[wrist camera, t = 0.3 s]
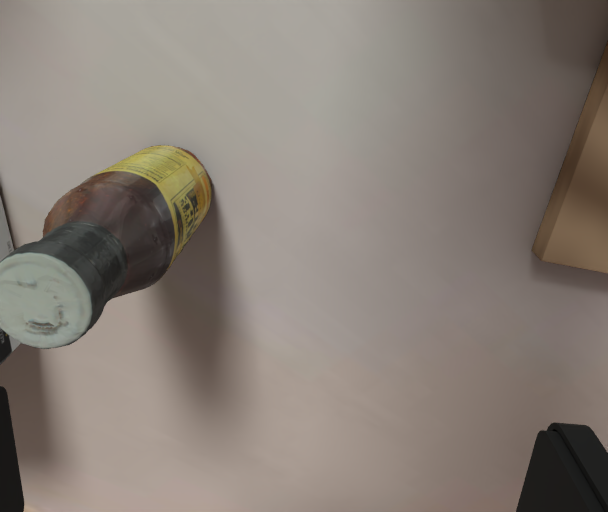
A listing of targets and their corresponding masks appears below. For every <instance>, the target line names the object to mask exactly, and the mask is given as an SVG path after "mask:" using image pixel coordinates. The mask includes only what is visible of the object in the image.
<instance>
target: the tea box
mask: <svg viewBox="0 0 608 512" xmlns="http://www.w3.org/2000/svg"><path fill="white" fill-rule="evenodd" d="M13 251H14V248H13V244H12V240H11V236H10V232H9V228H8V224H7V220H6V216H5V212H4V208H3V204H2V200H1V196H0V261H1V260H2V259H4V258H5V257H6V256H7V255H9V254H10V253H12V252H13ZM20 344H21V342H19V341H17V340H16V339H14V338H13V337H11V336H9V335H8V334H7V333H6V332H5V331H3V330H2V329H1V328H0V364H1V363H2V362H3V361H4V360H6V358H7V357H8V356H9V355H10V354H11V353H12V352H13V351H14V350H15V349H16V348H17V347H18V346H19V345H20Z"/></svg>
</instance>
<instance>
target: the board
mask: <svg viewBox="0 0 608 512" xmlns="http://www.w3.org/2000/svg"><path fill="white" fill-rule="evenodd" d="M532 251H533V252H534V253H535V255H536V256H537V257H538V258H539V259H540V260H541V261H545V262H550V263H555V264H561V265H566V266H571V267H577V268H582V269H587V270H593V271H598V272H603V273H608V42H607V45H606V47H605V50H604V53H603V56H602V58H601V61H600V64H599V66H598V69H597V72H596V75H595V77H594V80H593V83H592V86H591V88H590V91H589V94H588V97H587V99H586V102H585V105H584V108H583V110H582V113H581V116H580V119H579V121H578V124H577V127H576V130H575V132H574V135H573V138H572V141H571V143H570V146H569V149H568V152H567V154H566V157H565V160H564V163H563V165H562V168H561V171H560V174H559V176H558V179H557V182H556V185H555V187H554V190H553V193H552V195H551V198H550V201H549V204H548V206H547V209H546V212H545V215H544V217H543V220H542V223H541V226H540V228H539V231H538V234H537V237H536V239H535V242H534V245H533V248H532Z"/></svg>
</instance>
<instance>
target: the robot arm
mask: <svg viewBox="0 0 608 512" xmlns="http://www.w3.org/2000/svg"><path fill="white" fill-rule="evenodd" d="M23 511H24V498H23V491H22V485H21V479H20V472H19V466H18V460H17V453H16V447H15V441H14V434H13V428H12V422H11V415H10V409H9V403H8V396H7V392H6V389H5V388H4V387H1V386H0V512H23ZM516 512H608V453H607V451H606V450H605V448H604V447H603V445H602V444H601V442H600V441H599V439H598V438H597V436H596V435H595V433H594V432H593V431H592V429H591V428H590V427H588V426H586V425H576V424H564V423H552V424H551V425H550V426H549V427H548V429H547V431H544V430H542V431H540V432H539V433H538V435H537V438H536V441H535V445H534V449H533V452H532V456H531V460H530V463H529V467H528V470H527V474H526V478H525V481H524V485H523V488H522V492H521V496H520V499H519V503H518V506H517V510H516Z"/></svg>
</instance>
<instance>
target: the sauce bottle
mask: <svg viewBox="0 0 608 512" xmlns="http://www.w3.org/2000/svg"><path fill="white" fill-rule="evenodd" d="M211 187H212V184H211V178H210V177H209V175H208V173H207V171H206V169H205V168H204V166H203V164H201V162H200V161H199V160H198V159H197V157H196V156H195V155H194V154H192V153H191V152H190V151H187V150H184V149H182V148H179V147H174V146H161V145H158V146H152V147H149V148H146V149H144V150H141V151H140V152H138V153H136V154H134V155H132V156H130V157H128V158H126V159H124V160H122V161H120V162H118V163H116V164H115V165H113V166H111V167H109V168H107V169H105V170H103V171H101V172H99V173H97V174H96V175H94V176H92V177H90V178H88V179H87V180H85V181H84V182H83V183H82V184H80V185H79V186H77V187H76V188H74V189H72V190H70V191H69V192H68V193H66V194H65V195H64V196H62V197H61V198H60V199H59V200H58V201H57V202H56V203H55V204H54V206H53V208H52V209H51V211H50V212H49V214H48V216H47V217H46V219H45V224H44V229H43V238H42V239H41V240H40V241H38V242H32V243H29V244H25V245H23V246H21V247H19V248H17V249H16V250H14V251H13V252H12V253H10V254H9V255H7V256H6V257H5V258H4V259H2V260H1V261H0V328H1V329H2V330H3V331H5V332H6V333H7V334H8V335H9V336H11V337H13V338H14V339H16V340H17V341H19V342H21V343H22V344H26V345H29V346H32V347H35V348H41V349H50V348H58V347H62V346H66V345H70V344H72V343H73V342H75V341H77V340H78V339H79V338H80V337H82V336H83V335H84V334H86V332H87V331H88V330H89V329H91V328H92V327H93V325H94V324H95V323H96V322H97V320H98V319H99V317H100V315H101V314H102V312H103V309H104V306H105V304H106V303H107V302H108V301H109V300H110V299H112V298H115V297H118V296H121V295H125V294H128V293H132V292H135V291H138V290H142V289H145V288H147V287H149V286H151V285H153V284H155V283H156V282H157V281H158V280H159V279H160V278H161V277H162V276H163V275H164V274H165V273H166V271H167V270H168V269H169V267H170V266H171V264H172V263H173V261H174V260H175V258H176V257H177V256H178V254H179V253H180V252H181V251H182V249H183V248H184V246H185V245H186V243H187V242H188V241H189V240H190V237H191V236H192V235H193V233H194V232H195V230H196V229H197V227H198V226H199V225H200V223H201V222H202V220H203V219H204V217H205V216H206V214H207V212H208V209H209V207H210V202H211Z"/></svg>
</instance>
